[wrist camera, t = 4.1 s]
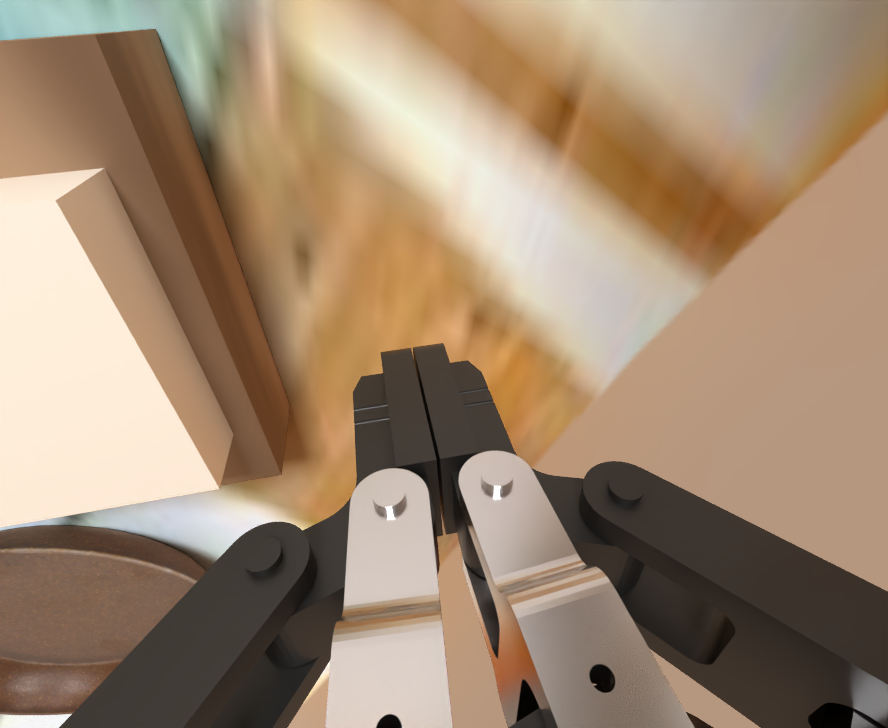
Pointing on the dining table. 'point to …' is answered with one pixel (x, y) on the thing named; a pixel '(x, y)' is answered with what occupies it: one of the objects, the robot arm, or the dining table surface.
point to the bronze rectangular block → (151, 206)
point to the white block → (93, 361)
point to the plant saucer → (78, 609)
